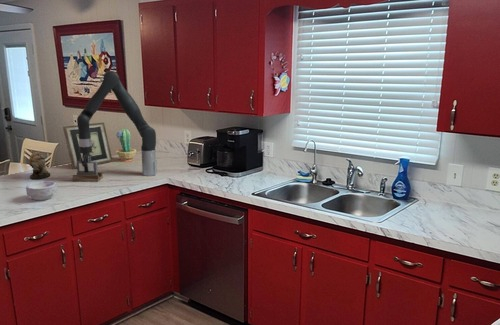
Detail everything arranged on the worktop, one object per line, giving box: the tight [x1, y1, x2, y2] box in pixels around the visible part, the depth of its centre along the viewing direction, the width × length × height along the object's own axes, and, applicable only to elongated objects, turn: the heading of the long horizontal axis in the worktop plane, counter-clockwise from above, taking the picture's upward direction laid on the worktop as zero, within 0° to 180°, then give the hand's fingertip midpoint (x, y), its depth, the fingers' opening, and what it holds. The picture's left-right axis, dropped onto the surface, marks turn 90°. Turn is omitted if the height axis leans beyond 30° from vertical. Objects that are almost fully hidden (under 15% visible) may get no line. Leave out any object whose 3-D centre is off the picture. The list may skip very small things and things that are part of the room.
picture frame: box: [62, 122, 114, 169], centre depth 307 cm, size 33×10×30 cm, turn 143°
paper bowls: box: [25, 180, 58, 201], centre depth 229 cm, size 15×15×8 cm
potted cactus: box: [116, 128, 137, 163], centre depth 323 cm, size 15×15×25 cm
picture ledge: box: [72, 171, 104, 183], centre depth 268 cm, size 10×16×4 cm, turn 93°
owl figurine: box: [28, 151, 51, 180], centre depth 273 cm, size 18×12×17 cm, turn 17°
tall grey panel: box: [76, 162, 99, 175], centre depth 267 cm, size 3×12×9 cm, turn 93°
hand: (87, 171), depth 267 cm, fingers closed on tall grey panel, 3 cm apart
